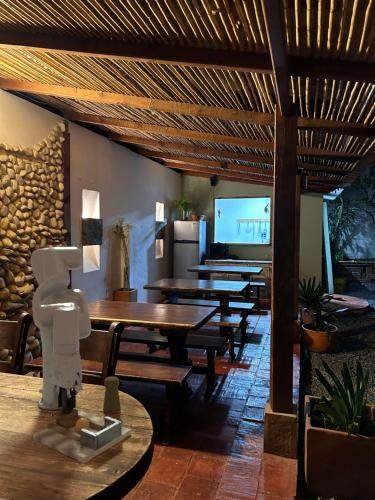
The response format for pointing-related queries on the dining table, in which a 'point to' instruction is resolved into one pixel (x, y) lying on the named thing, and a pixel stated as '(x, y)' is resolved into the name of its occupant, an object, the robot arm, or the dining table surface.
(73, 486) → the dining table surface
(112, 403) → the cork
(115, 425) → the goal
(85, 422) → the ball
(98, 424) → the lane board
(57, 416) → the player block
